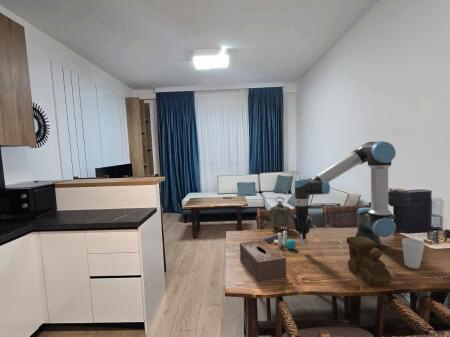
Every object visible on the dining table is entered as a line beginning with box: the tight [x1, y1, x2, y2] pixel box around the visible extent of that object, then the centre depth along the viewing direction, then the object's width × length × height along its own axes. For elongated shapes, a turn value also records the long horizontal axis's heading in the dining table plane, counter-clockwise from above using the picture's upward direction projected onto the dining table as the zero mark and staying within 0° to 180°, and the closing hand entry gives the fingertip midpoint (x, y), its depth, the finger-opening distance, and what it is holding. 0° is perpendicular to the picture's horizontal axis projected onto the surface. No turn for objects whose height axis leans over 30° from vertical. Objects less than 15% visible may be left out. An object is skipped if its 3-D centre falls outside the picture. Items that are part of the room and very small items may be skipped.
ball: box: [286, 239, 297, 250], centre depth 159 cm, size 6×6×6 cm
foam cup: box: [401, 237, 425, 269], centre depth 134 cm, size 10×9×13 cm
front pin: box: [273, 239, 287, 248], centre depth 167 cm, size 2×2×8 cm
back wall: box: [257, 232, 279, 244], centre depth 174 cm, size 2×20×3 cm, turn 129°
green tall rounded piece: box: [268, 196, 292, 231], centre depth 196 cm, size 14×9×25 cm, turn 58°
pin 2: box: [282, 230, 288, 243], centre depth 167 cm, size 2×2×8 cm
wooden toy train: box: [346, 236, 392, 286], centre depth 123 cm, size 20×11×17 cm, turn 6°
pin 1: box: [277, 232, 283, 248], centre depth 164 cm, size 2×2×8 cm
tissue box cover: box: [239, 239, 287, 283], centre depth 136 cm, size 26×14×10 cm, turn 16°
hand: (302, 243), depth 154 cm, fingers closed
